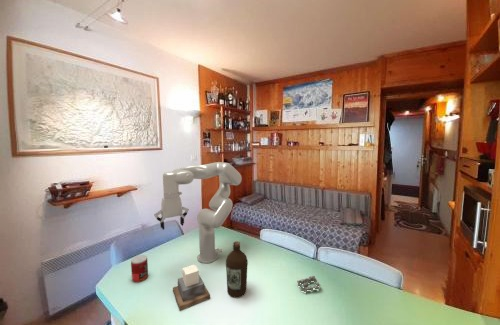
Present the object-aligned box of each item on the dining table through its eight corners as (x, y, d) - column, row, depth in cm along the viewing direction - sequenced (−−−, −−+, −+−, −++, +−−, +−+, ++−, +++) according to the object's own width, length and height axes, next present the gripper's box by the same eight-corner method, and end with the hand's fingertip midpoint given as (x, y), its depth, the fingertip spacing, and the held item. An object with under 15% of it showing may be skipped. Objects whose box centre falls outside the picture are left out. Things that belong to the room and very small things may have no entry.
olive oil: (231, 282, 111) (230, 236, 109) (250, 286, 108) (250, 239, 106) (222, 296, 101) (221, 246, 99) (243, 301, 98) (243, 249, 96)
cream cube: (195, 275, 105) (194, 264, 105) (198, 282, 100) (198, 270, 100) (182, 279, 102) (182, 268, 102) (186, 287, 97) (185, 274, 97)
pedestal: (200, 281, 112) (200, 269, 111) (210, 298, 100) (209, 284, 99) (172, 291, 104) (172, 278, 104) (179, 310, 92) (179, 295, 92)
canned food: (141, 283, 110) (140, 263, 109) (128, 281, 112) (127, 261, 111) (151, 274, 118) (150, 255, 116) (138, 272, 119) (137, 254, 118)
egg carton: (314, 282, 112) (315, 275, 111) (322, 292, 104) (322, 284, 104) (295, 284, 110) (296, 277, 109) (301, 294, 102) (302, 286, 102)
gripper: (186, 191, 119) (186, 221, 121) (152, 196, 110) (154, 227, 111) (189, 194, 113) (190, 225, 114) (154, 199, 103) (156, 233, 105)
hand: (172, 226), depth 113 cm, fingers open, 9 cm apart
